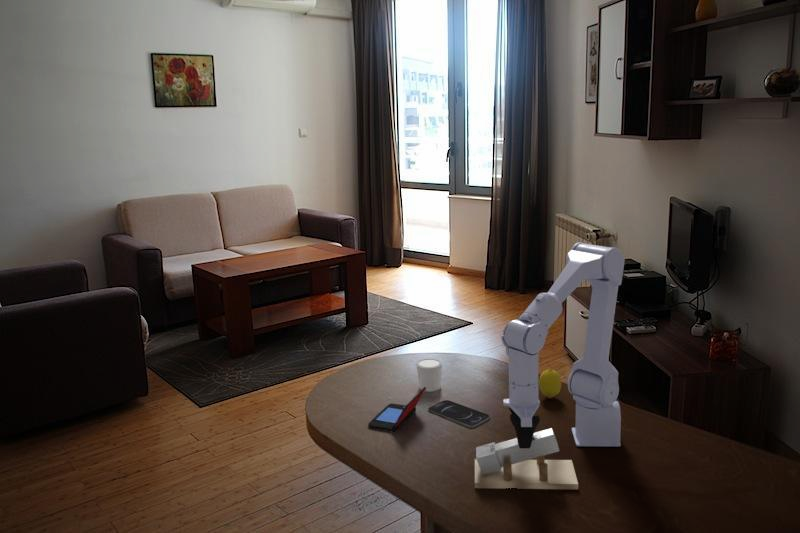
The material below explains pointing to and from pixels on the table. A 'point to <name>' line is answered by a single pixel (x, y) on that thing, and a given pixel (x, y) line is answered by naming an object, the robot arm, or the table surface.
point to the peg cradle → (530, 475)
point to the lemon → (550, 383)
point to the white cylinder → (429, 374)
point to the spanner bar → (515, 451)
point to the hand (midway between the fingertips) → (524, 443)
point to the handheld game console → (395, 415)
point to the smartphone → (459, 413)
